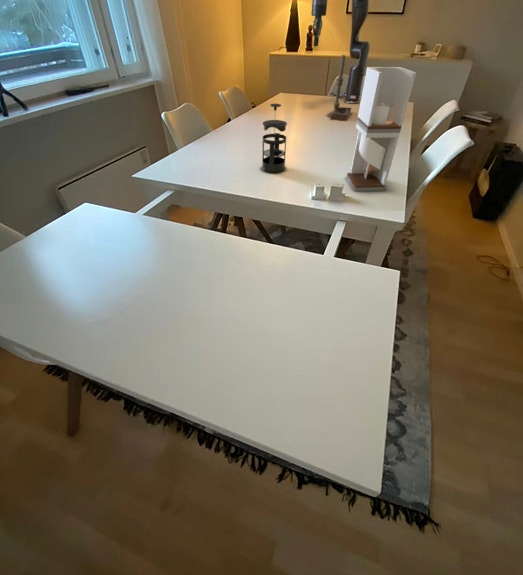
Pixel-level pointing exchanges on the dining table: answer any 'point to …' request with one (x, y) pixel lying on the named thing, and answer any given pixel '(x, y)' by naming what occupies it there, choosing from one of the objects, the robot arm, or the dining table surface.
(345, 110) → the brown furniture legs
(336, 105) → the candlestick holder
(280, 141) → the french press
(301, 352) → the dining table surface
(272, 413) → the dining table surface
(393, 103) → the white architectural model
